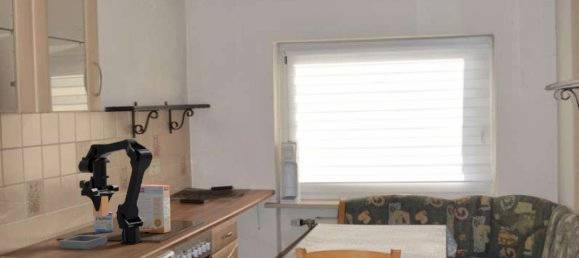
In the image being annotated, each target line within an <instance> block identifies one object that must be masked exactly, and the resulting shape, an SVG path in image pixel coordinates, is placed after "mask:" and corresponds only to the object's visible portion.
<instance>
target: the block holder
mask: <svg viewBox="0 0 579 258" xmlns="http://www.w3.org/2000/svg"><path fill="white" fill-rule="evenodd" d="M107 244H108V236H107V235H106V236H105V235H90V234H89V235H87V234H86V235H85V234H79V235H76V236H72V237H68V238H64V239H60V240H59V249H70V250H82V251H83V250H85V251H87V250H90V249H91V250H92V249H94V248H98V247H101V246H105V245H107Z"/></svg>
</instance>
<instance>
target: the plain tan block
mask: <svg viewBox="0 0 579 258" xmlns="http://www.w3.org/2000/svg"><path fill="white" fill-rule="evenodd" d="M109 212H110V210H109V203H108V196H102V198H101V203H100V208H99V211H98V212H97V211H96V210H95V207H94V205H93V204H92V216H93V217H94V216H106V215H109Z"/></svg>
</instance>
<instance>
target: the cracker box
mask: <svg viewBox="0 0 579 258" xmlns="http://www.w3.org/2000/svg"><path fill="white" fill-rule="evenodd" d="M170 187H171V186H170V185H169V184H141V188H140V192H139V197H138V201H137V206H138V209H139V214H138V215H139V216H140V218H141V219H142V220H143V226H142V227H140V233H145V232H149V234H150V233H151V234H167V233H170V232H171V230H172V229H171V193H170V192H171V191H170V190H171V189H170Z"/></svg>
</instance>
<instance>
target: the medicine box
mask: <svg viewBox="0 0 579 258" xmlns="http://www.w3.org/2000/svg"><path fill="white" fill-rule="evenodd" d="M113 218H114V217H113V212H112V211H109V215H106V216H93V220H94V221H93V222H94V233H95V234H100V233H99V232H103V233H113V232H114V221H113Z"/></svg>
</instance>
